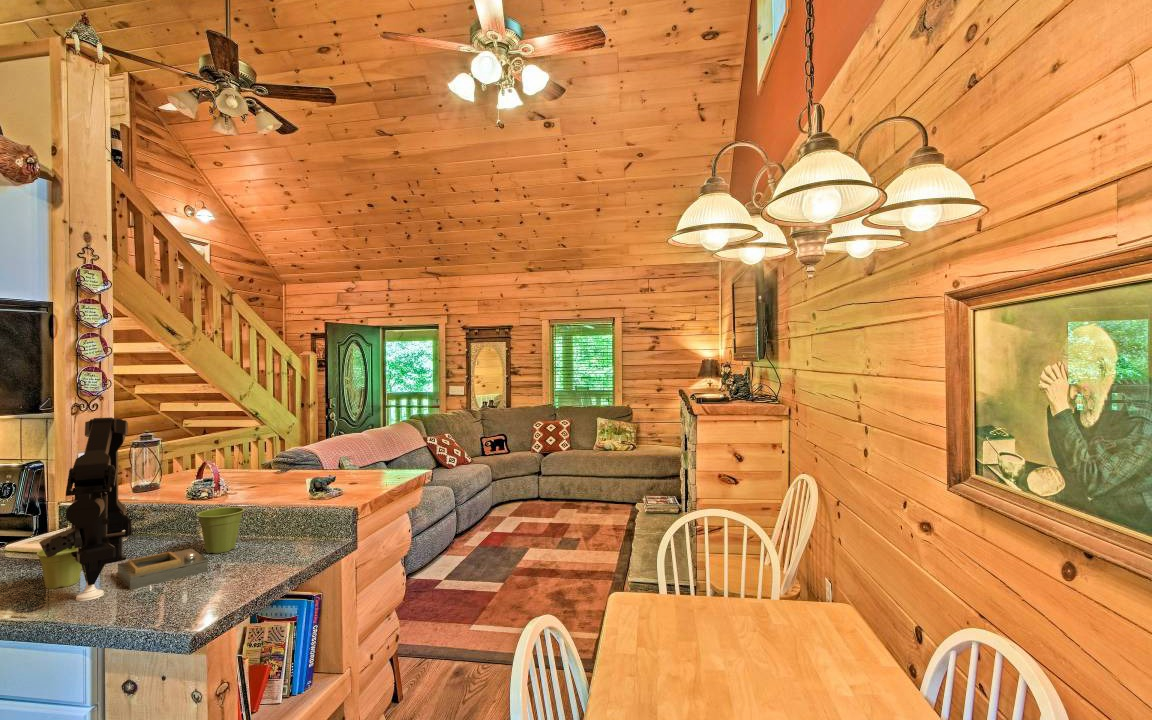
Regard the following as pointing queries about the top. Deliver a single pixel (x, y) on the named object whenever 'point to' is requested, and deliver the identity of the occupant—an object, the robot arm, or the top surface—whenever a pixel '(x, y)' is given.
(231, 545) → the plant pot
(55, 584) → the plant pot
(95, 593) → the chess piece
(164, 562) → the grey hollow block
